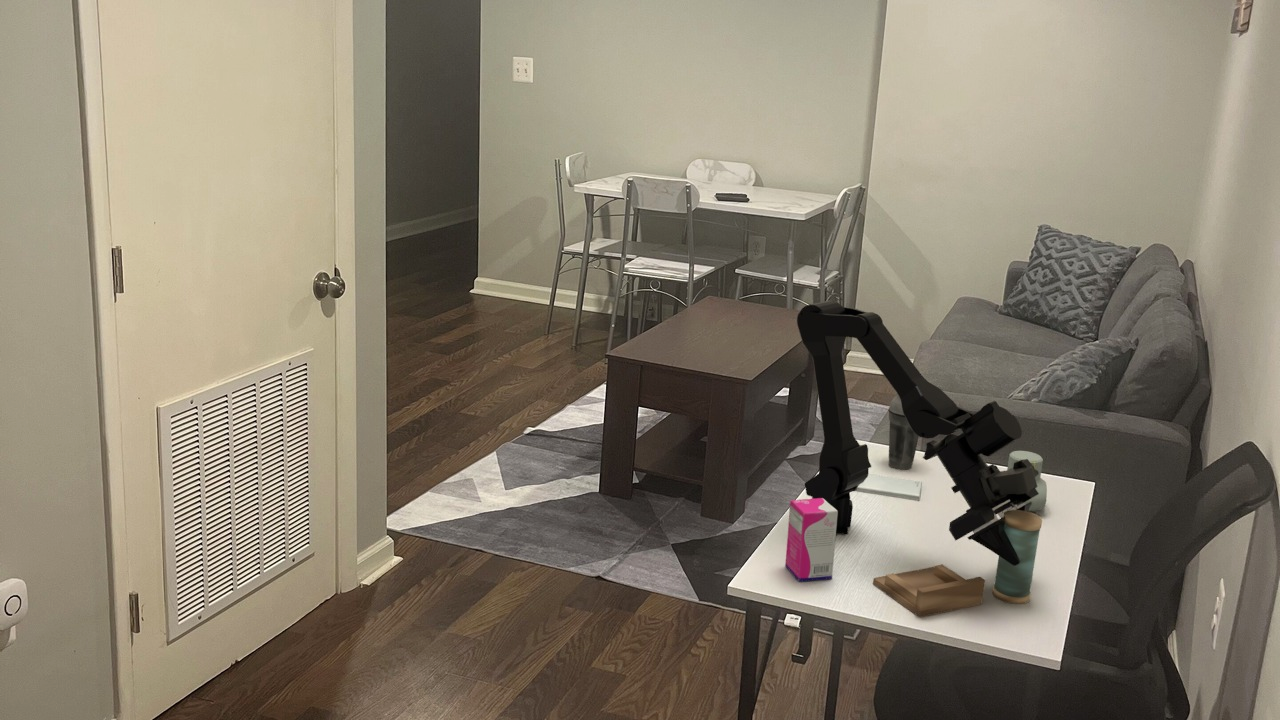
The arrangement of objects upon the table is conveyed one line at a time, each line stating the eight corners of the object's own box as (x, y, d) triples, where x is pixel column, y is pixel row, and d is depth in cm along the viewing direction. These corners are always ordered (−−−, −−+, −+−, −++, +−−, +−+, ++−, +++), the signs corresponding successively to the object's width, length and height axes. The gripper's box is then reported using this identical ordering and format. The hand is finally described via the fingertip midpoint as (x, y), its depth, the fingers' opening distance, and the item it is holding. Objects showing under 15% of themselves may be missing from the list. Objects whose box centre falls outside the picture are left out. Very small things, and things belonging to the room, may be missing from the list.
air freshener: (1044, 520, 200) (1052, 468, 197) (996, 513, 202) (1004, 462, 199) (1039, 499, 210) (1047, 449, 207) (994, 492, 212) (1001, 443, 209)
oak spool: (996, 601, 168) (1008, 522, 165) (989, 585, 173) (1000, 508, 170) (1033, 605, 167) (1046, 526, 164) (1025, 589, 173) (1037, 511, 169)
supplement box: (817, 563, 178) (823, 496, 175) (832, 579, 172) (839, 511, 169) (783, 565, 176) (789, 498, 173) (798, 582, 171) (804, 513, 168)
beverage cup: (874, 464, 223) (885, 369, 218) (894, 457, 228) (906, 363, 223) (905, 475, 218) (917, 378, 213) (925, 467, 223) (937, 372, 218)
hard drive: (922, 480, 213) (857, 470, 216) (919, 495, 206) (852, 485, 209) (921, 488, 214) (856, 478, 217) (918, 504, 206) (851, 493, 209)
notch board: (872, 583, 172) (875, 560, 171) (933, 572, 177) (936, 549, 176) (919, 617, 162) (922, 592, 161) (981, 604, 167) (985, 580, 166)
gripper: (978, 459, 160) (1040, 554, 156) (1035, 433, 173) (1093, 520, 169) (923, 493, 167) (981, 585, 163) (982, 465, 181) (1036, 550, 176)
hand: (1025, 559), depth 168 cm, fingers closed on oak spool, 5 cm apart
